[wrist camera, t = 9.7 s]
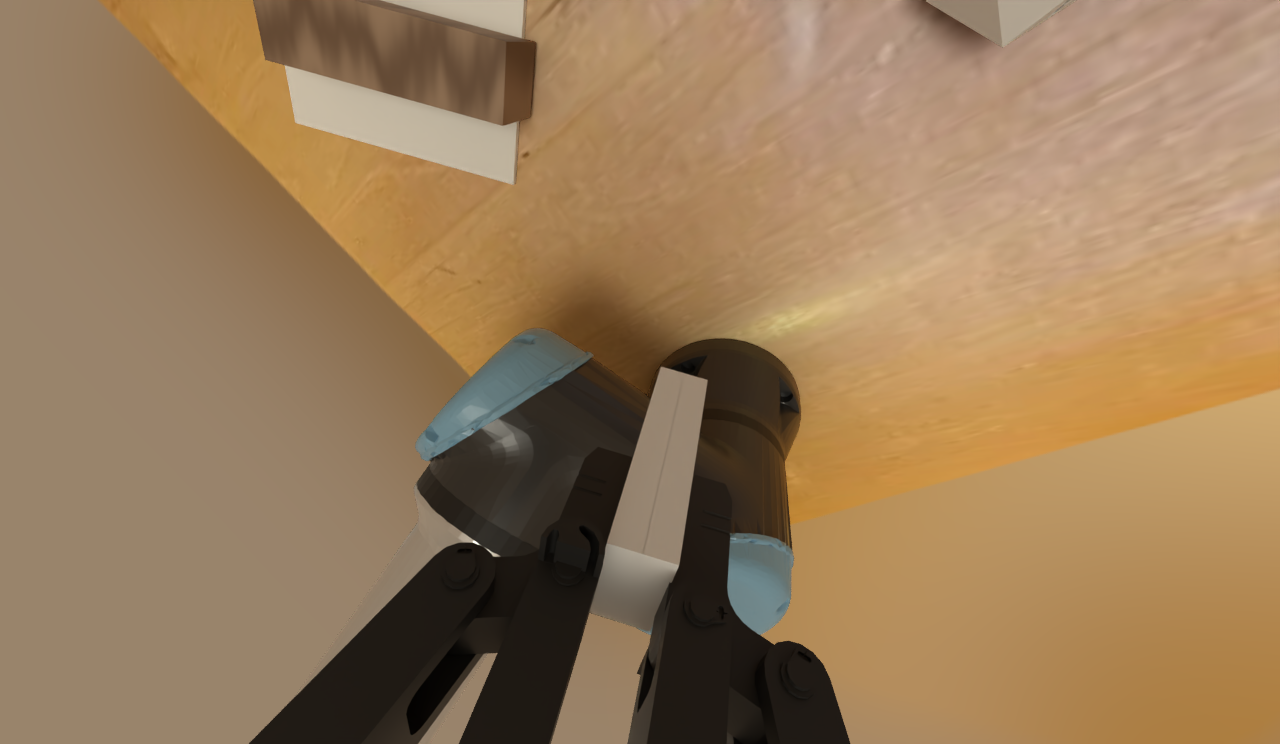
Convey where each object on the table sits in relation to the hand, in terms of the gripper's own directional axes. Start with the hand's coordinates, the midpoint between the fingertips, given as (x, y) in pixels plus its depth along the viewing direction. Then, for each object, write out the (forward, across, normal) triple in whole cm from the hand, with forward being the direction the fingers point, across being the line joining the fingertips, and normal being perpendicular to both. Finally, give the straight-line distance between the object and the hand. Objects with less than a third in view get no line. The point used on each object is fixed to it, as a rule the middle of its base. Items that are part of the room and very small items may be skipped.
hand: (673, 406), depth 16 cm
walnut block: (+25, +16, -4) cm, 30 cm away
